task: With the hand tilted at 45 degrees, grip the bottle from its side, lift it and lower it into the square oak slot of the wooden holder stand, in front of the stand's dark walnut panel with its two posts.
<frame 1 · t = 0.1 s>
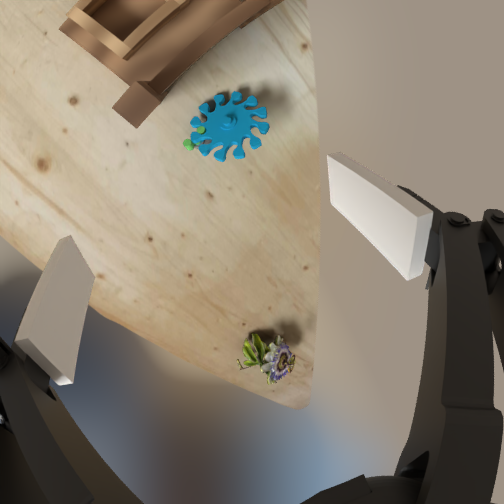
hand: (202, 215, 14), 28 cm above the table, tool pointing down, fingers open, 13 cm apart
passion flower: (262, 344, 65), on the table
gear: (220, 122, 37), on the table
wooden holder stand: (152, 13, 26), on the table
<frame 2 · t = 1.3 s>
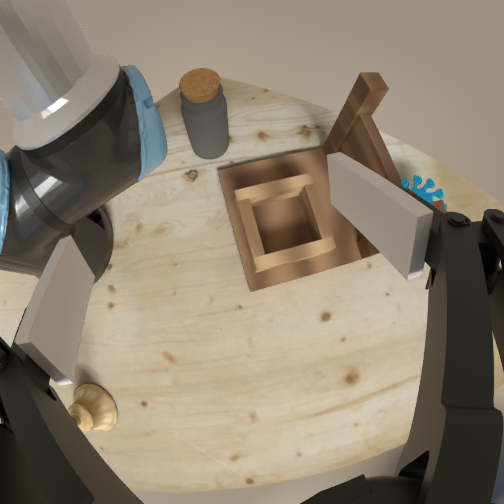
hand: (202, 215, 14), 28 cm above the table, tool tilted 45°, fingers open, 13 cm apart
hand bell: (95, 407, 37), on the table
bottle: (210, 144, 44), on the table
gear: (404, 217, 43), on the table
wooden holder stand: (294, 214, 42), on the table
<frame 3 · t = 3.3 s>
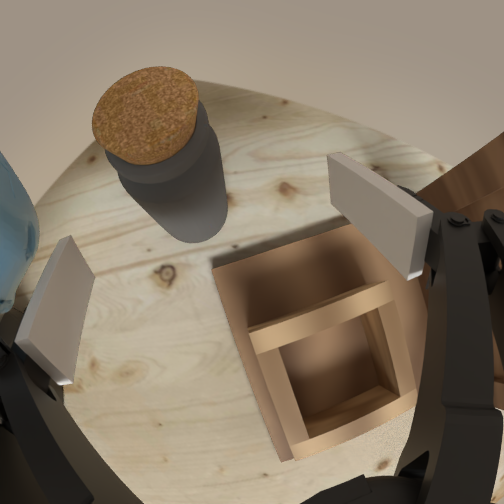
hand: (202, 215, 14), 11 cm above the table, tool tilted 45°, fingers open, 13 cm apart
bottle: (194, 211, 25), on the table
wooden holder stand: (347, 336, 24), on the table
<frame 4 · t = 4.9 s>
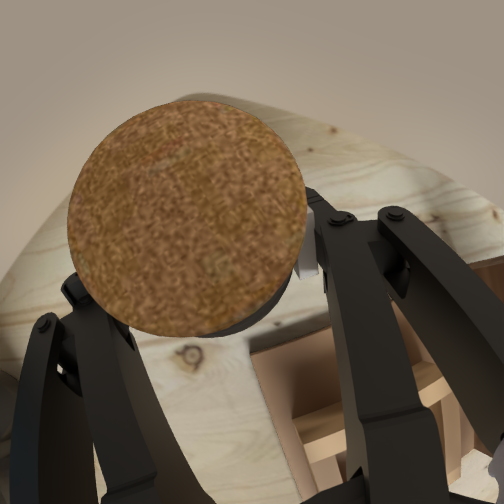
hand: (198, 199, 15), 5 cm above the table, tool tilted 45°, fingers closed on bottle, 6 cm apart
bottle: (225, 276, 20), on the table, touching gripper
wooden holder stand: (395, 413, 18), on the table
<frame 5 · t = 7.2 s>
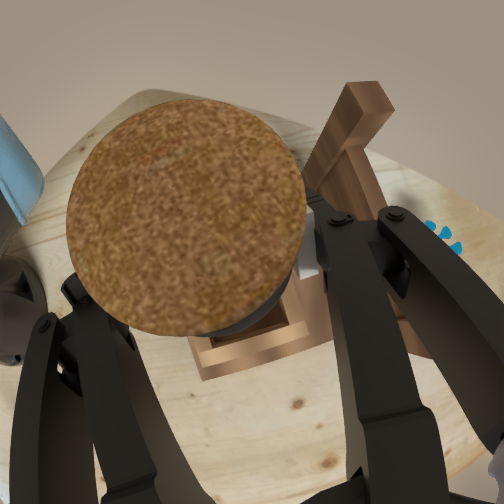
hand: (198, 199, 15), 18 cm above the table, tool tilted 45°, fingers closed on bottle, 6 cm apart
bottle: (224, 276, 20), point 12 cm above the table, touching gripper
wooden holder stand: (256, 279, 33), on the table
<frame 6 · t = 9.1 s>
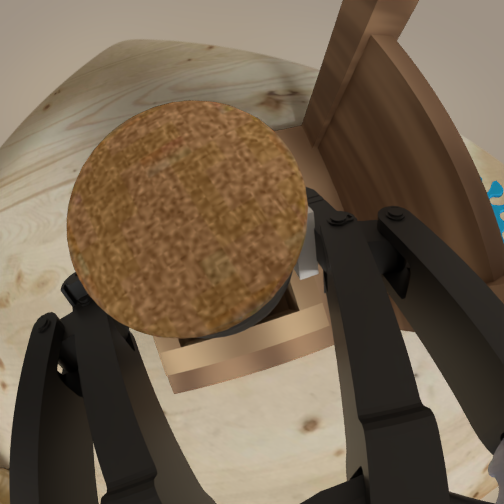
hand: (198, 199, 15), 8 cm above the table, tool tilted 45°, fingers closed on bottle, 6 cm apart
hand bell: (20, 493, 17), on the table
bottle: (225, 276, 20), point 3 cm above the table, touching gripper
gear: (449, 243, 24), on the table
wooden holder stand: (250, 249, 23), on the table
when the fingers open (8 cm above the table, at t = 9.5 s): bottle drops 1 cm, resting on wooden holder stand.
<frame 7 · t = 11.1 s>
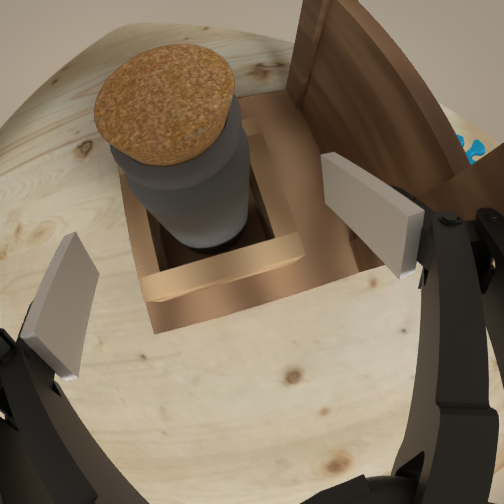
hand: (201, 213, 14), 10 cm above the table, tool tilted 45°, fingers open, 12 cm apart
bottle: (210, 218, 23), point 1 cm above the table, touching wooden holder stand
wooden holder stand: (234, 195, 24), on the table
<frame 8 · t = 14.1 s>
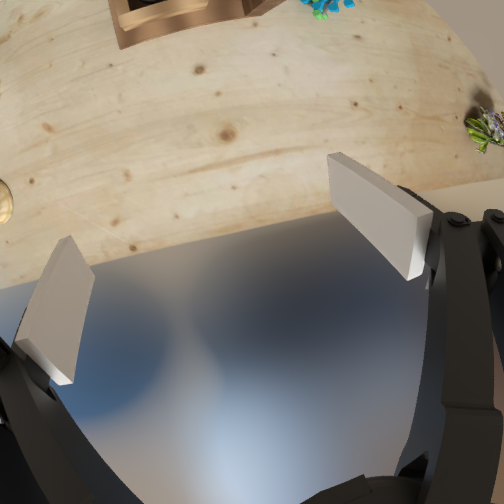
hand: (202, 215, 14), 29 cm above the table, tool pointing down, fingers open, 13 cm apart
passion flower: (477, 126, 47), on the table
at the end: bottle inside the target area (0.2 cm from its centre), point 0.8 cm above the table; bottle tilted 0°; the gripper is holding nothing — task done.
